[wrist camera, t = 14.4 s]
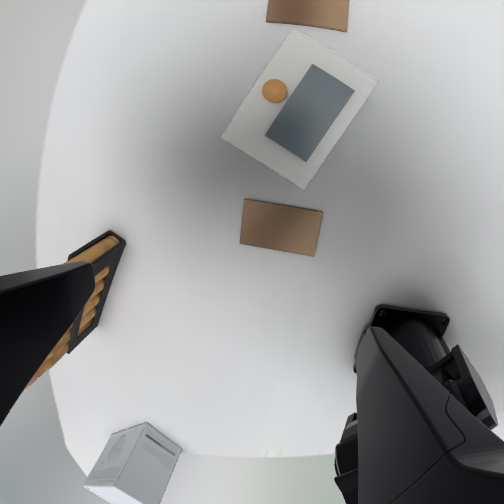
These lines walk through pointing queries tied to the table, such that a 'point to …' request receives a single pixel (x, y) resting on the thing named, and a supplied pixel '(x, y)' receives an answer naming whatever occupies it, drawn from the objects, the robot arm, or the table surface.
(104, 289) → the ammunition clip
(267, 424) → the table surface
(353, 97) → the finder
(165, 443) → the skincare box
